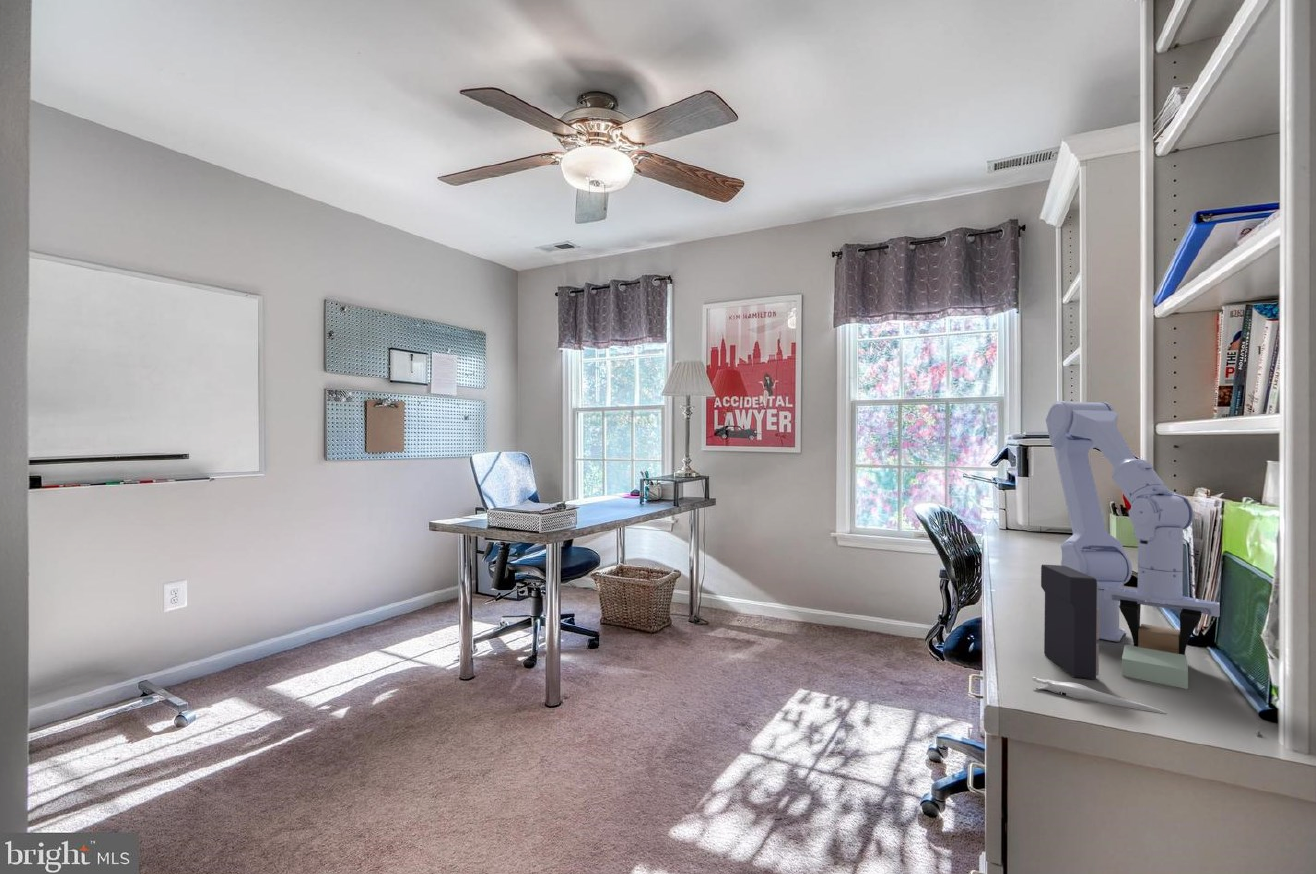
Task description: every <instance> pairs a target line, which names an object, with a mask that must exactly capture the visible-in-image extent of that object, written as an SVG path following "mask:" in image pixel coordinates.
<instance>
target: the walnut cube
mask: <svg viewBox="0 0 1316 874" xmlns="http://www.w3.org/2000/svg"><path fill="white" fill-rule="evenodd" d="M1179 643H1180V629H1175V628H1170V627H1164V626H1158V625H1152V624H1146V623H1140V628H1139V629H1138V647H1141V648H1147V649H1153V650H1159V651H1164V652H1170V653H1176V654H1179Z"/></svg>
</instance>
